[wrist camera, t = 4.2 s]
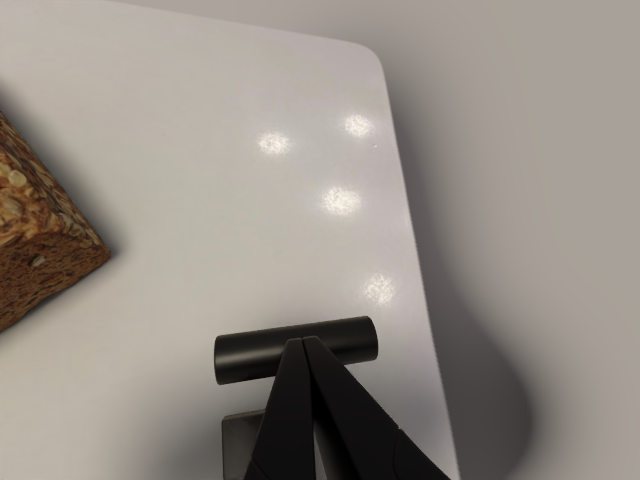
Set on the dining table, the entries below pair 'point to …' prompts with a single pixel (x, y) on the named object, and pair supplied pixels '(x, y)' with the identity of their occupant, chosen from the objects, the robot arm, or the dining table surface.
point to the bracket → (239, 442)
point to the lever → (268, 346)
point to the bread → (38, 231)
